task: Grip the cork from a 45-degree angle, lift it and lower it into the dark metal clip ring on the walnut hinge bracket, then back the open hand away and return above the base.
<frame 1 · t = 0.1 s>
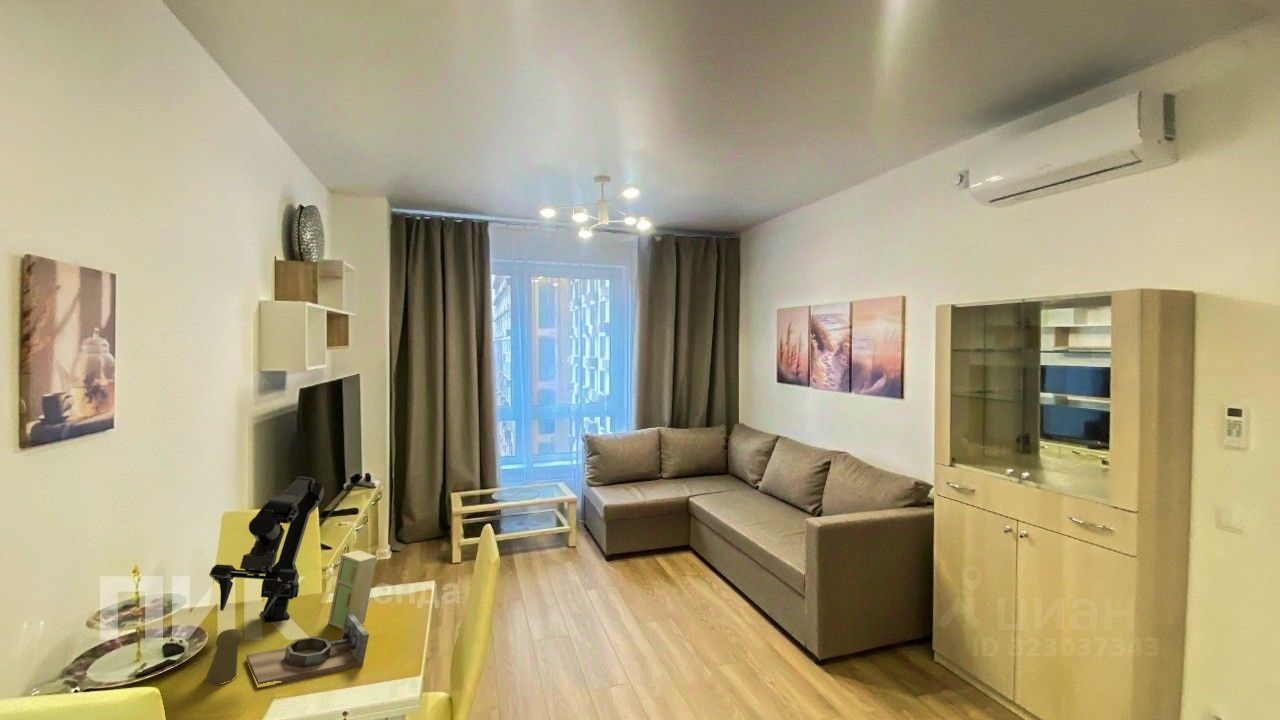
hand: (243, 611, 138), 15 cm above the table, tool tilted 35°, fingers open, 9 cm apart
toy refrigerator: (344, 625, 169), on the table
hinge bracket: (305, 663, 146), on the table
cork: (220, 678, 134), on the table
clip ring: (306, 657, 146), resting on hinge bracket
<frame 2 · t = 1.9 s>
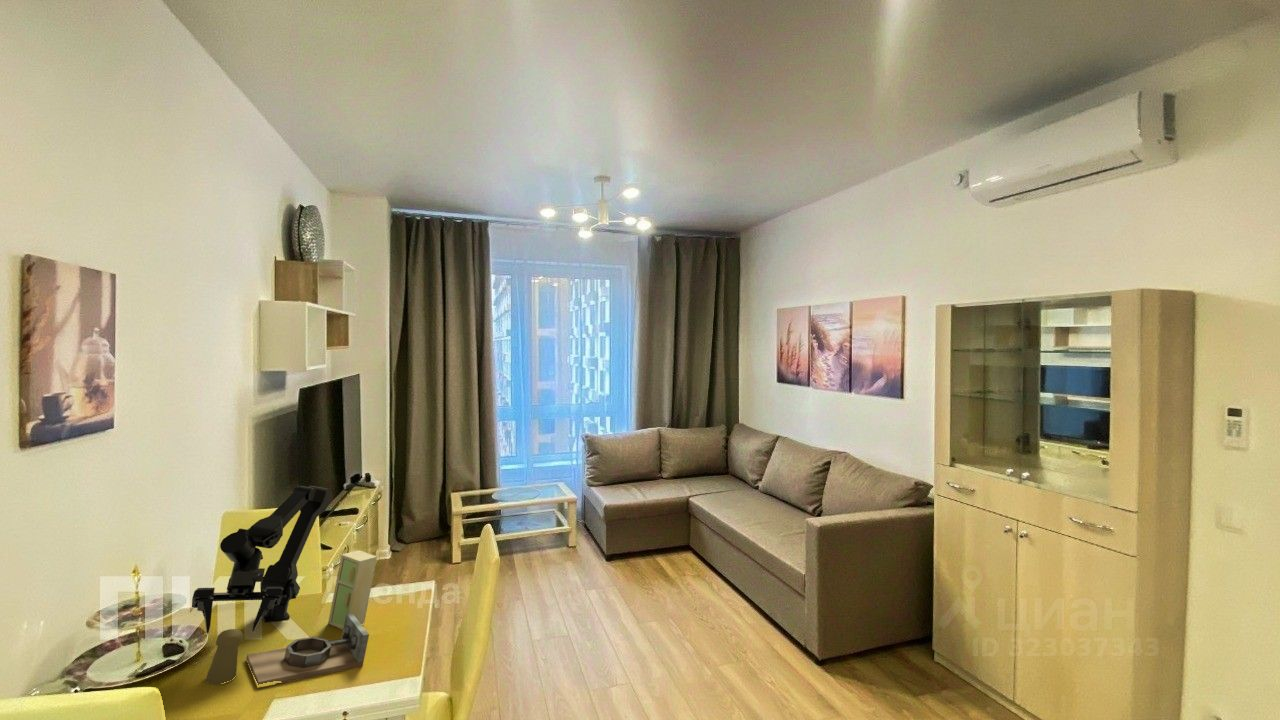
hand: (230, 631, 137), 10 cm above the table, tool tilted 45°, fingers open, 9 cm apart
nothing on the table moved.
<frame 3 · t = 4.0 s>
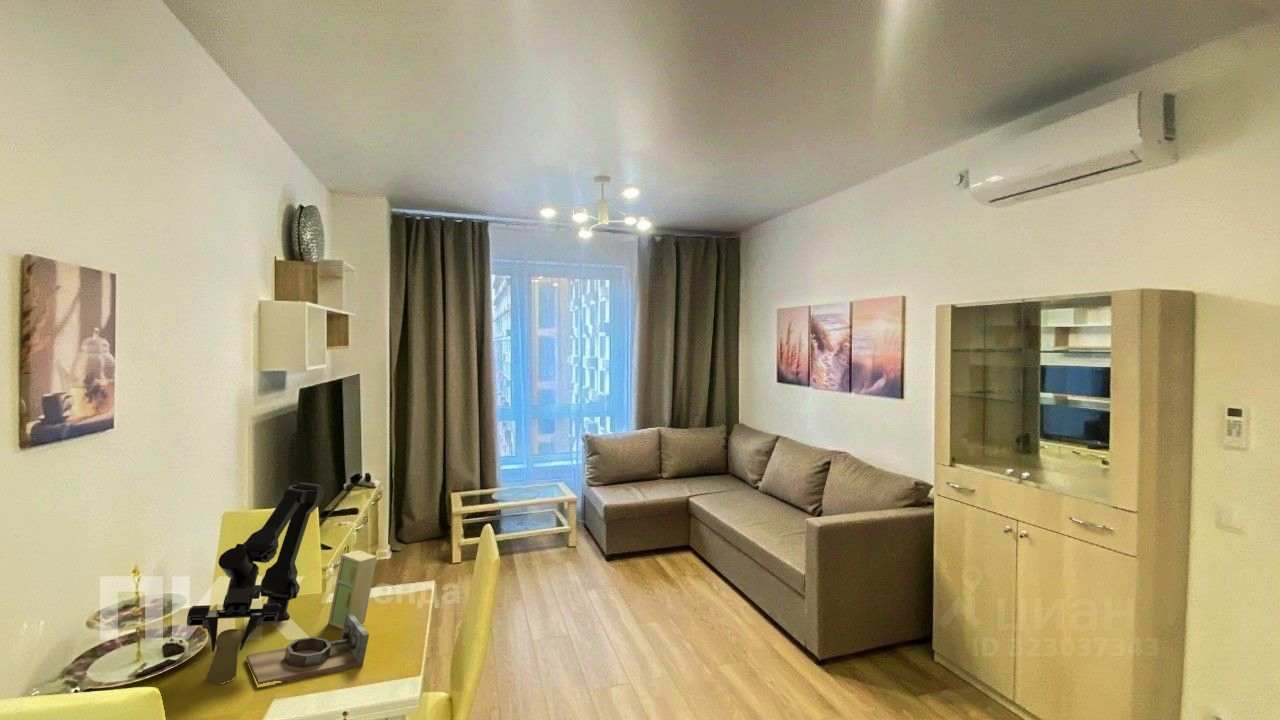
hand: (226, 650, 133), 7 cm above the table, tool tilted 45°, fingers closed on cork, 5 cm apart
cork: (220, 678, 134), on the table, touching gripper
everything else where it was.
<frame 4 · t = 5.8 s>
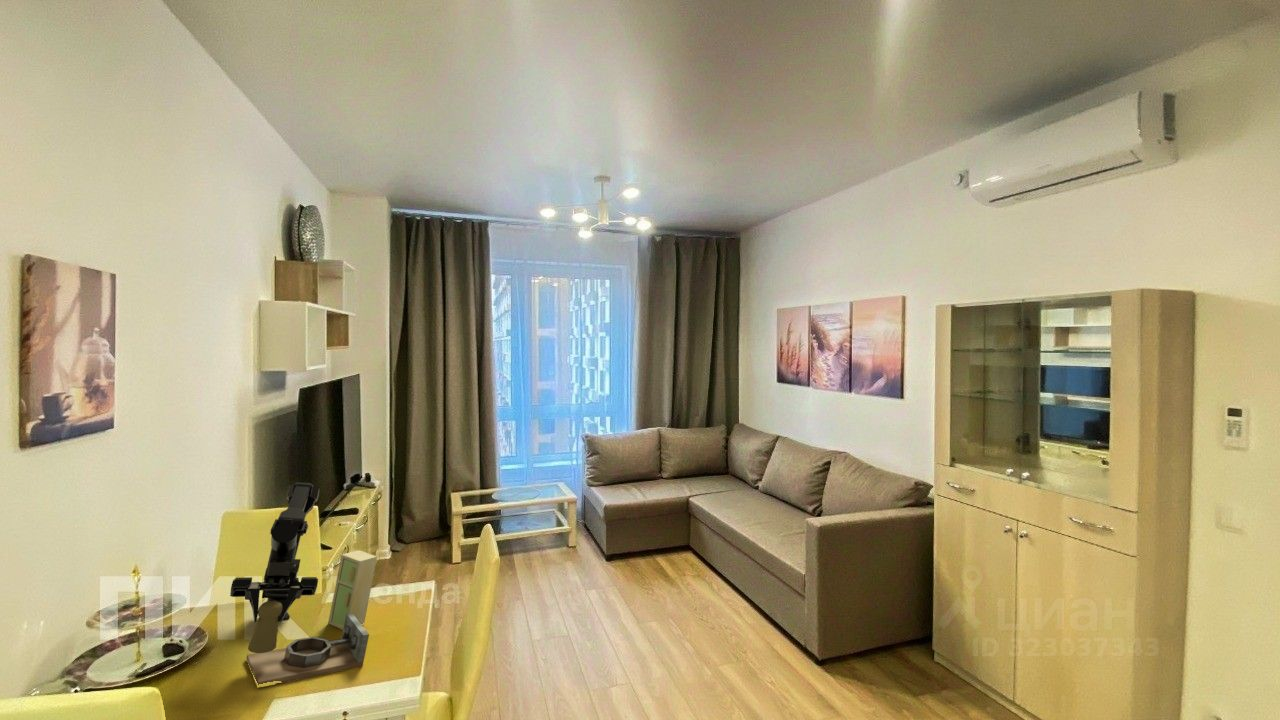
hand: (268, 621, 139), 13 cm above the table, tool tilted 45°, fingers closed on cork, 5 cm apart
cork: (262, 647, 140), point 6 cm above the table, touching gripper
everything else where it was.
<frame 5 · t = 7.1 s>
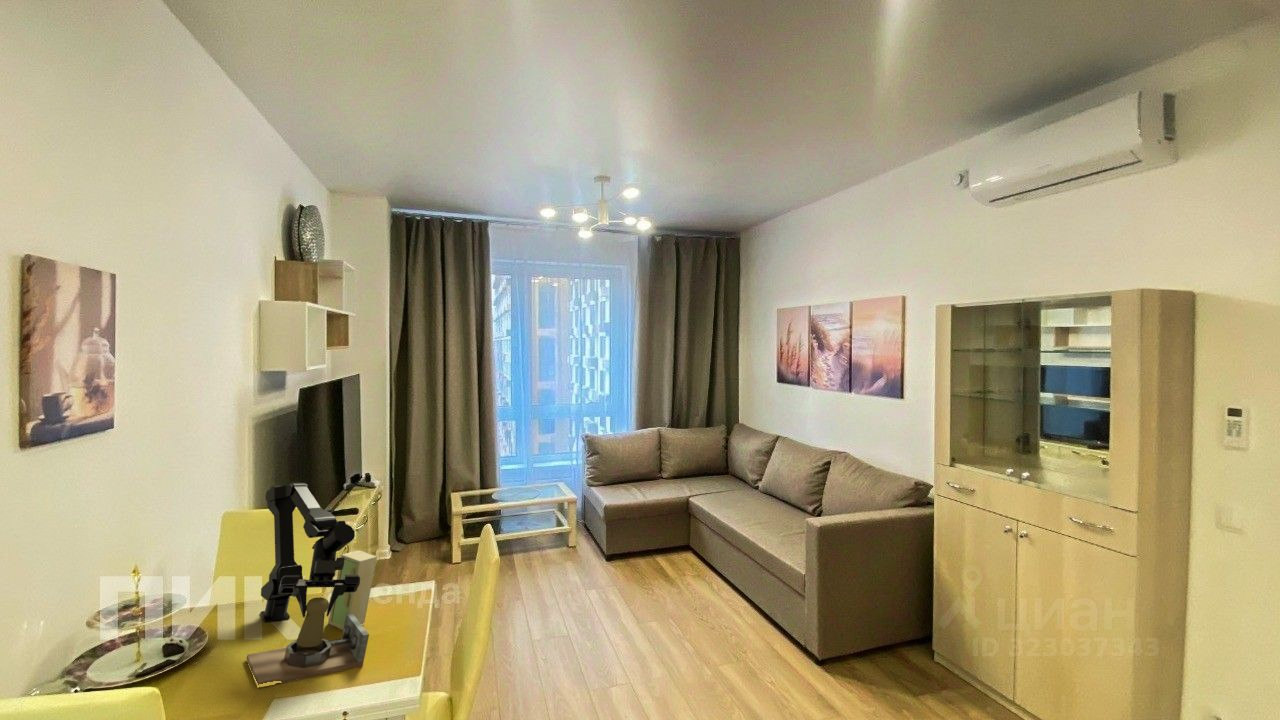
hand: (315, 616, 146), 13 cm above the table, tool tilted 45°, fingers closed on cork, 5 cm apart
cork: (309, 642, 146), point 5 cm above the table, touching gripper
everything else where it was.
when the fingers open (10 cm above the table, at t = 8.1 s): cork drops 1 cm, resting on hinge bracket.
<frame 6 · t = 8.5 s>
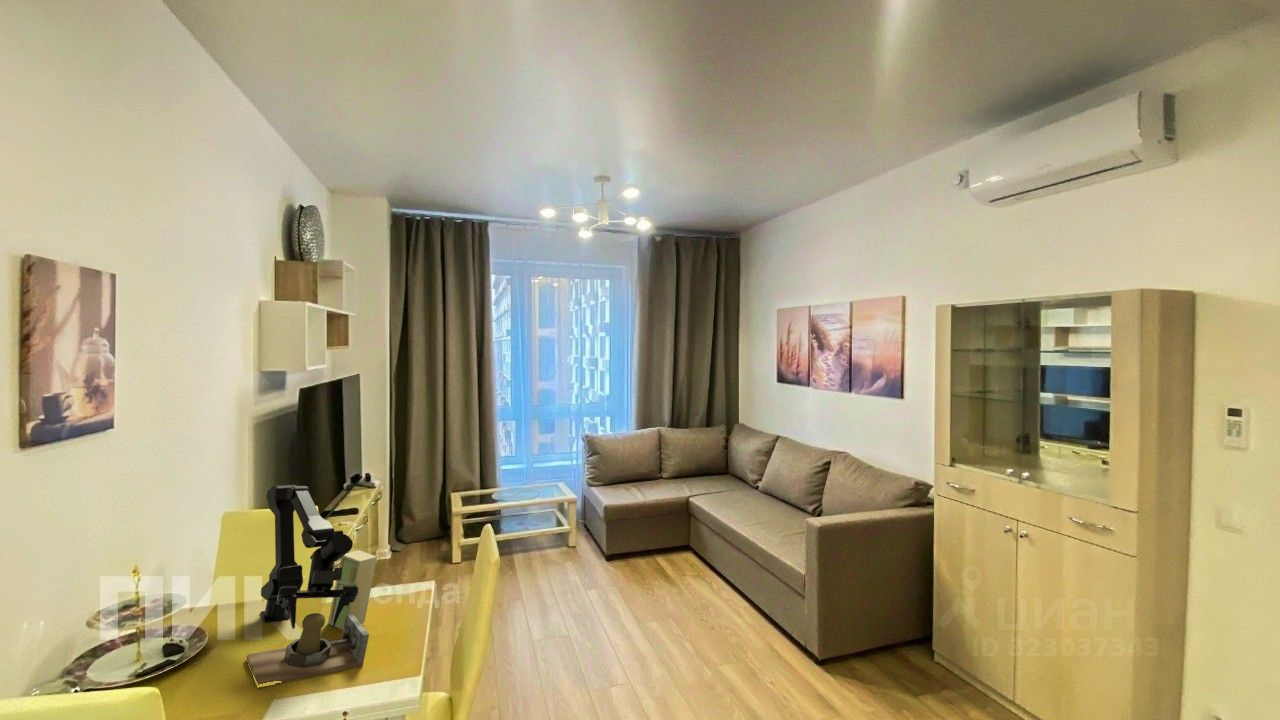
hand: (313, 627, 145), 10 cm above the table, tool tilted 45°, fingers open, 9 cm apart
cork: (305, 658, 146), point 1 cm above the table, touching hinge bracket
everything else where it was.
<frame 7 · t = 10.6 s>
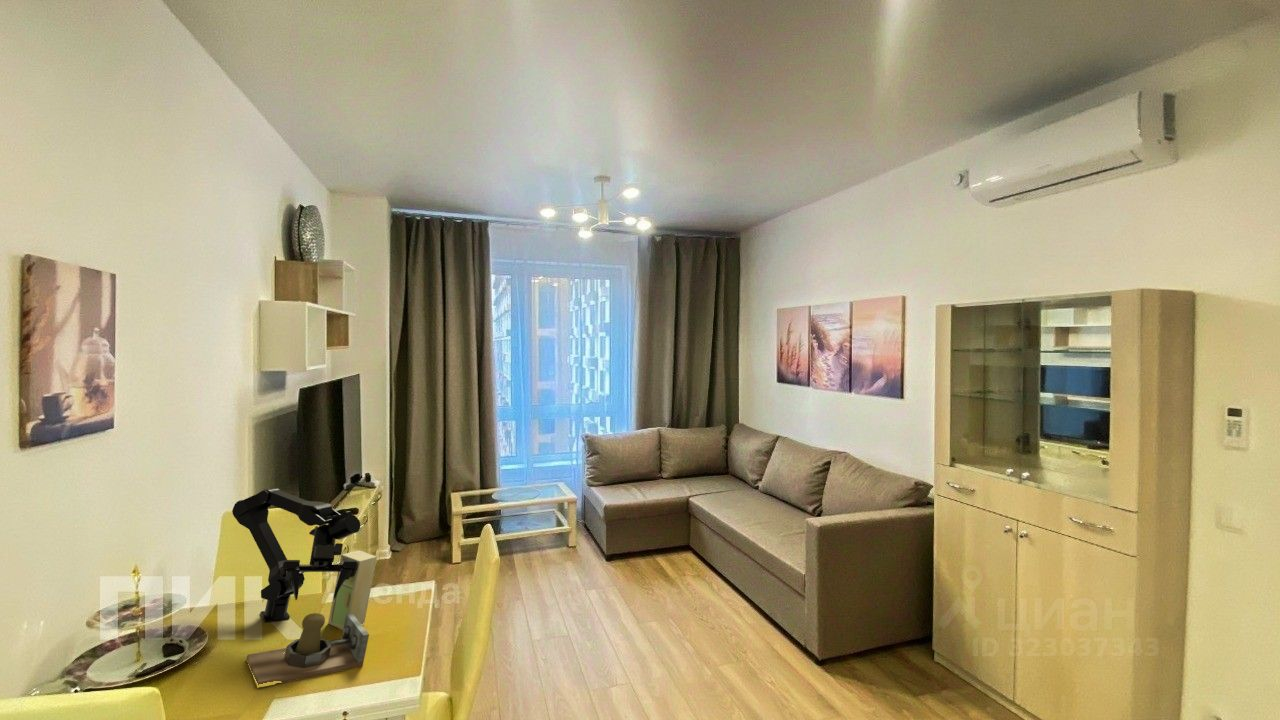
hand: (315, 598, 154), 14 cm above the table, tool tilted 45°, fingers open, 9 cm apart
nothing on the table moved.
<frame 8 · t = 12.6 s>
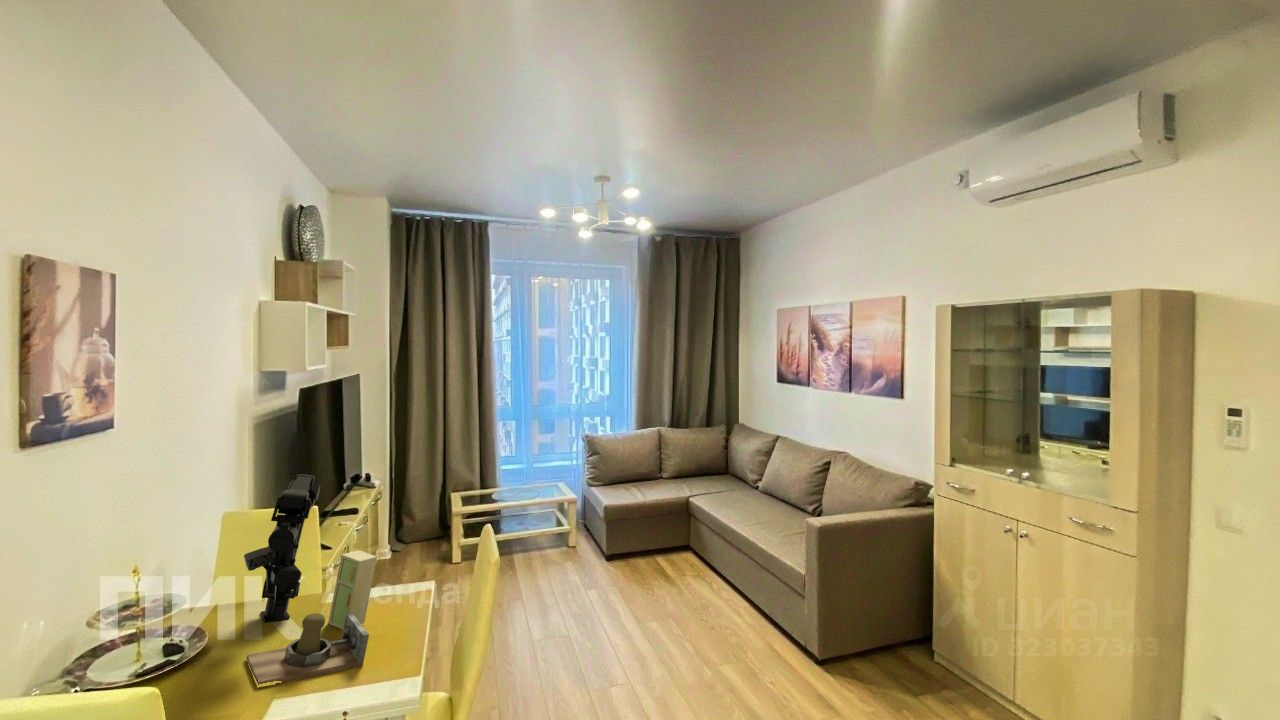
hand: (273, 596, 152), 13 cm above the table, tool pointing down, fingers open, 9 cm apart
nothing on the table moved.
at the end: cork 0.1 cm off-centre on the clip ring, point 0.0 cm above the clip ring's base; cork tilted 0°; the gripper is holding nothing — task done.
